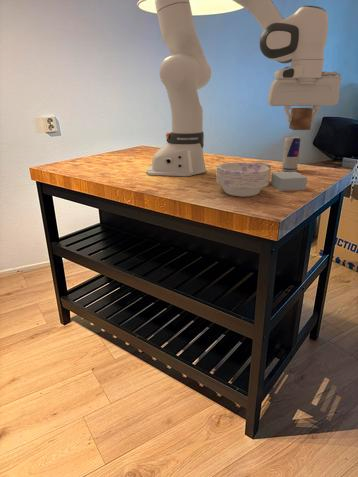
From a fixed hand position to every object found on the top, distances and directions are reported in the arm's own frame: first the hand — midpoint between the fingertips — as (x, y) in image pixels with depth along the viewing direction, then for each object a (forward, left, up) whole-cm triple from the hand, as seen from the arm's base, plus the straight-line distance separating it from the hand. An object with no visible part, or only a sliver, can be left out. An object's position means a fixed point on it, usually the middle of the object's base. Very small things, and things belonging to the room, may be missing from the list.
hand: (300, 121), depth 108 cm
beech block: (-11, +1, -19) cm, 22 cm away
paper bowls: (-18, -12, -19) cm, 29 cm away
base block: (-3, -5, -19) cm, 20 cm away
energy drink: (+3, +18, -19) cm, 26 cm away
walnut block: (0, 0, -2) cm, 2 cm away
